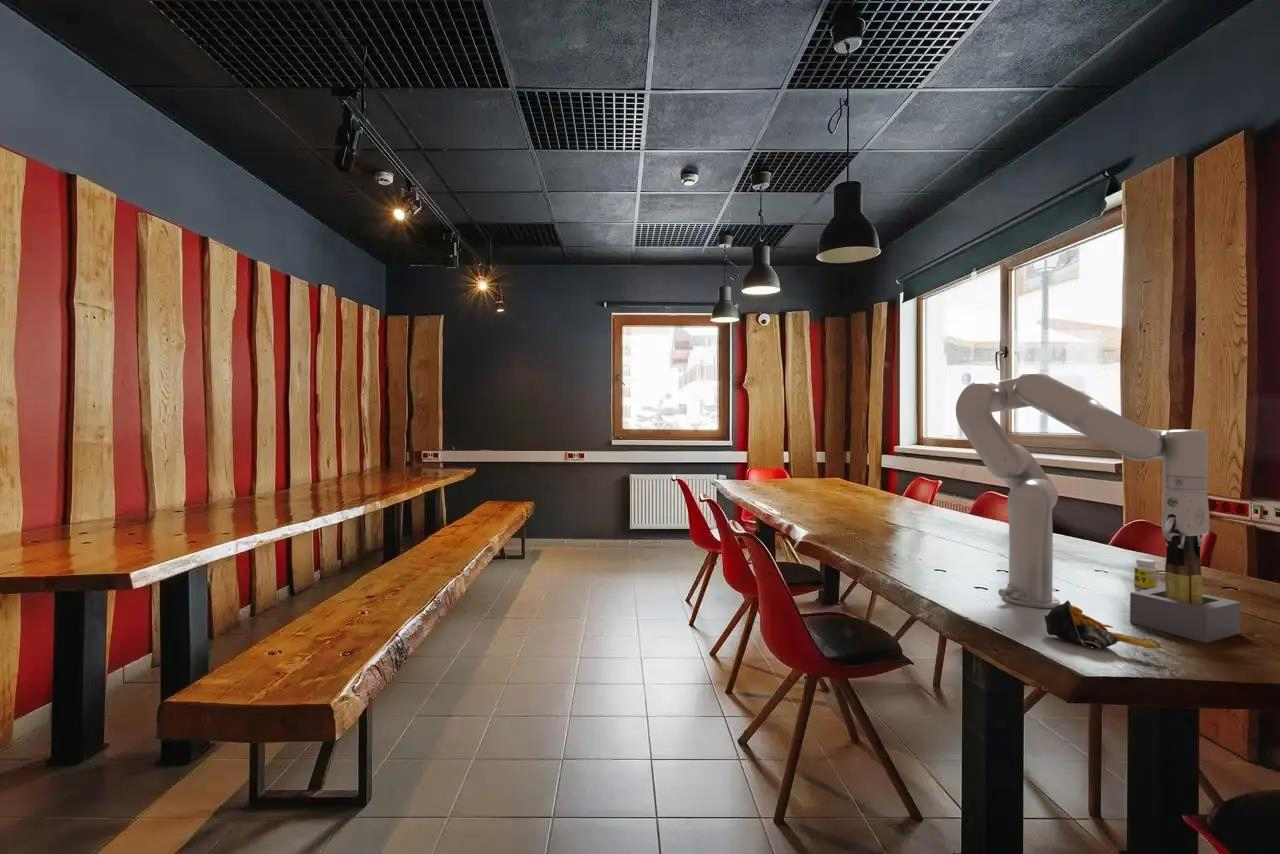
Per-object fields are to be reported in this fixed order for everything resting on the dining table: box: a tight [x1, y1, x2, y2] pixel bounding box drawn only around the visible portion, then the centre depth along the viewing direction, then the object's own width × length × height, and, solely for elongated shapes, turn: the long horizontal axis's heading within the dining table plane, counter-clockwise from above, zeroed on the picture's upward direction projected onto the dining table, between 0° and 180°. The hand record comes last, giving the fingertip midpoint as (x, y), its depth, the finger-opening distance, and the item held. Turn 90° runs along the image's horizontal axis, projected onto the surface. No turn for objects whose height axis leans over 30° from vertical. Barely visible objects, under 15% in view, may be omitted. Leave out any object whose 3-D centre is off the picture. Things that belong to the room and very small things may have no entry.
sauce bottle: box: [1164, 531, 1203, 605], centre depth 135 cm, size 6×6×20 cm
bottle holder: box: [1129, 585, 1241, 644], centre depth 135 cm, size 14×14×7 cm
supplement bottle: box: [1133, 557, 1158, 591], centre depth 166 cm, size 5×5×8 cm
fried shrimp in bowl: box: [1043, 600, 1161, 650], centre depth 124 cm, size 9×11×18 cm
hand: (1183, 562), depth 135 cm, fingers closed on sauce bottle, 5 cm apart
